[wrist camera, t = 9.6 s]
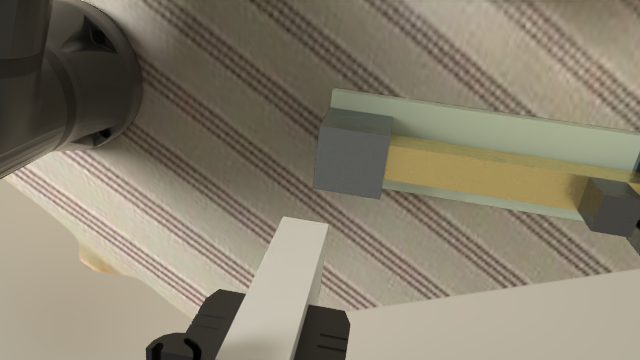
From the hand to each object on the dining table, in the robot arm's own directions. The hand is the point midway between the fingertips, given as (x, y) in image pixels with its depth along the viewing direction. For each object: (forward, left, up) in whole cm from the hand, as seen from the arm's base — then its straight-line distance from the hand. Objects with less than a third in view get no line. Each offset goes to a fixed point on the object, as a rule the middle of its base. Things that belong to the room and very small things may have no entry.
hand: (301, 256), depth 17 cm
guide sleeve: (0, -7, -33) cm, 33 cm away
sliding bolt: (+14, -7, -31) cm, 35 cm away
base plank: (+13, -7, -34) cm, 37 cm away
